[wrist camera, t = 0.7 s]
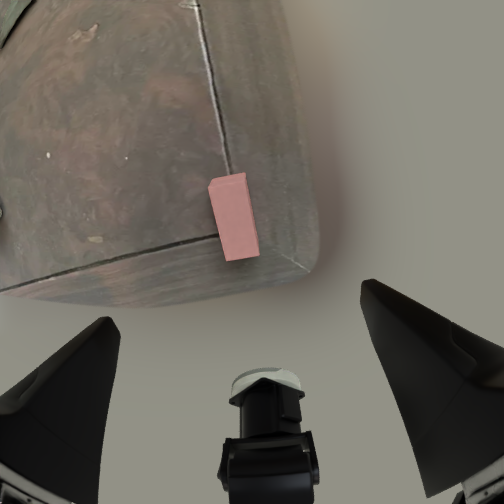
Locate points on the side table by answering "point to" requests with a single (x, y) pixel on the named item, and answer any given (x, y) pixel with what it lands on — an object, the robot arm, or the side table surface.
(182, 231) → the side table surface
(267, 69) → the side table surface
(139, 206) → the side table surface
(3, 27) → the stone
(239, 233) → the eraser
